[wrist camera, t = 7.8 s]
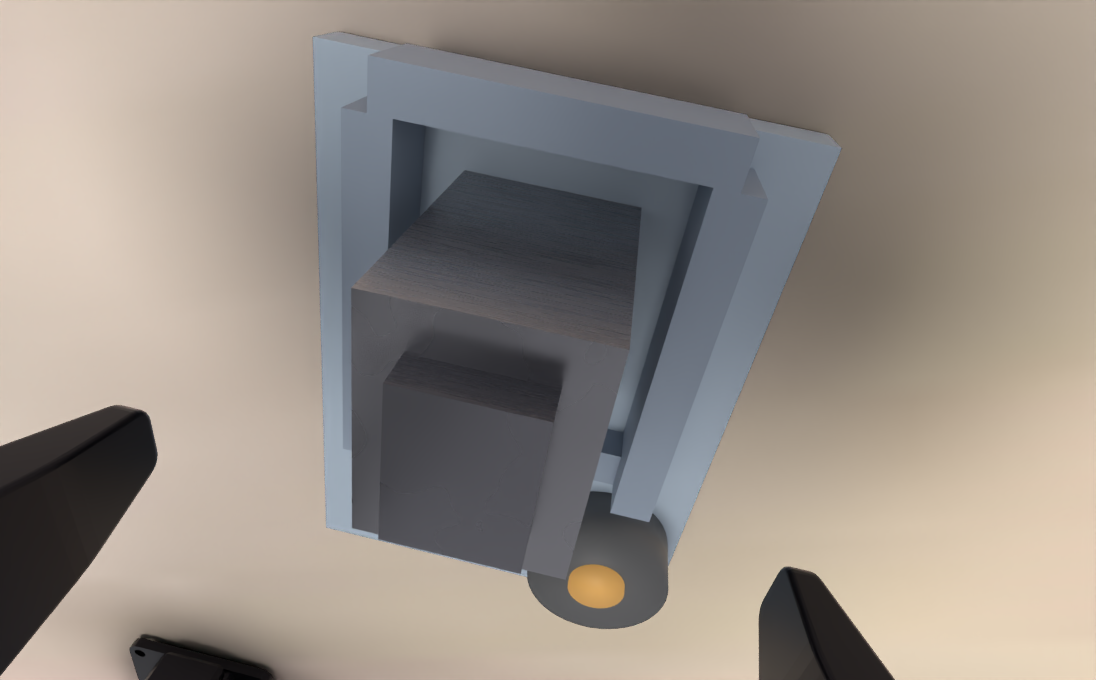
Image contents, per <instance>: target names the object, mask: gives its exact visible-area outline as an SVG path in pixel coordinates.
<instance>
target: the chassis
mask: <svg viewBox="0 0 1096 680" xmlns="http://www.w3.org/2000/svg"><path fill="white" fill-rule="evenodd" d="M313 59H314V96H315V133H316V169H317V206H318V243H319V279H320V316H321V352H322V389H323V426H324V462H325V499H326V528H330V529H334V530H339V531H343V532H347V533H351V534H355V535H359V536H363V537H367V538H371V539H375V540H379V539H378V534H374V533H370V532H366V531H362V530H358V529H353V528H352V403H351V287H352V286H353V285H354V284H355V283H356V282H357V281H358V280H359V279H360V278H361V277H362V276H363V275H364V274H365V273H366V272H367V271H368V270H369V269H370V268H371V267H372V266H373V265H374V264H375V262H376V261H377V260H378V259H379V258H380V257H381V256H382V255H383V254H384V253H385V252H386V251H387V250H388V249H389V248H390V247H391V246H392V245H393V244H394V243H395V242H396V241H397V240H398V239H399V238H400V237H401V236H402V234H403V233H404V232H405V231H406V230H407V229H408V228H409V227H410V226H411V225H412V224H413V223H414V222H415V221H416V220H417V219H418V218H419V217H420V216H421V215H422V214H423V213H424V212H425V211H426V210H427V209H428V208H429V206H430V205H431V204H432V203H433V202H434V201H435V200H436V199H437V198H438V197H439V196H440V195H441V194H442V193H443V192H444V191H445V190H446V189H447V188H448V187H449V186H450V185H451V184H452V183H453V182H454V181H455V179H456V178H457V177H458V176H459V175H460V174H461V173H462V172H463V171H464V170H467V171H472V172H476V173H481V174H486V175H490V176H495V177H500V178H504V179H509V180H514V181H519V182H523V183H528V184H533V185H537V186H542V187H547V188H551V189H556V190H561V191H566V192H570V193H575V194H580V195H584V196H589V197H594V198H598V199H603V200H608V201H613V202H617V203H622V204H627V205H631V206H636V207H641V208H642V210H641V221H640V233H639V245H638V257H637V269H636V281H635V292H634V304H633V316H632V328H631V340H630V350H629V354H628V358H627V361H626V365H625V368H624V372H623V376H622V379H621V383H620V386H619V390H618V394H617V397H616V401H615V404H614V408H613V411H612V415H611V419H610V422H609V426H608V429H607V433H606V437H605V440H604V444H603V447H602V451H601V455H600V458H599V462H598V465H597V469H596V473H595V476H594V480H593V483H592V487H591V490H590V494H589V498H588V501H587V505H586V508H585V512H584V516H583V519H582V523H581V526H580V530H579V534H578V537H577V541H576V544H575V548H574V551H573V555H572V559H571V562H570V566H569V569H568V573H567V577H566V580H564V579H560V578H556V577H552V576H548V575H543V574H539V573H535V572H531V571H527V570H523V569H522V571H521V574H519V573H515V572H511V571H507V570H503V569H498V568H494V567H490V566H486V565H482V564H478V563H474V562H470V561H465V560H461V559H457V558H453V557H449V556H445V555H441V554H437V553H432V552H428V551H424V550H420V549H416V548H412V547H408V546H404V545H399V544H395V543H391V542H387V541H383V540H379V541H383V542H387V543H391V544H395V545H399V546H404V547H408V548H412V549H416V550H420V551H424V552H428V553H432V554H436V555H440V556H444V557H448V558H452V559H456V560H460V561H464V562H469V563H473V564H477V565H481V566H485V567H489V568H493V569H497V570H501V571H505V572H509V573H513V574H517V575H521V576H525V577H527V579H528V583H529V586H530V589H531V591H532V593H533V594H534V596H535V597H536V598H537V600H538V601H539V602H540V603H541V604H542V605H543V606H544V607H545V608H547V609H548V610H549V611H551V612H552V613H554V614H555V615H557V616H559V617H561V618H563V619H565V620H567V621H570V622H572V623H575V624H578V625H582V626H586V627H591V628H599V629H618V628H625V627H629V626H634V625H636V624H639V623H642V622H644V621H646V620H648V619H649V618H651V617H652V616H654V615H655V614H656V613H657V612H658V611H659V610H660V609H661V608H662V606H663V605H664V603H665V601H666V598H667V595H668V565H669V563H670V561H671V558H672V556H673V553H674V551H675V548H676V546H677V544H678V541H679V539H680V536H681V534H682V532H683V529H684V527H685V524H686V522H687V520H688V517H689V515H690V512H691V510H692V508H693V505H694V503H695V500H696V498H697V496H698V493H699V491H700V488H701V486H702V483H703V481H704V479H705V476H706V474H707V471H708V469H709V467H710V464H711V462H712V459H713V457H714V455H715V452H716V450H717V447H718V445H719V443H720V440H721V438H722V435H723V433H724V431H725V428H726V426H727V423H728V421H729V418H730V416H731V414H732V411H733V409H734V406H735V404H736V402H737V399H738V397H739V394H740V392H741V390H742V387H743V385H744V382H745V380H746V378H747V375H748V373H749V370H750V368H751V366H752V363H753V361H754V358H755V356H756V353H757V351H758V349H759V346H760V344H761V341H762V339H763V337H764V334H765V332H766V329H767V327H768V325H769V322H770V320H771V317H772V315H773V313H774V310H775V308H776V305H777V303H778V301H779V298H780V296H781V293H782V291H783V288H784V286H785V284H786V281H787V279H788V276H789V274H790V272H791V269H792V267H793V264H794V262H795V260H796V257H797V255H798V252H799V250H800V248H801V245H802V243H803V240H804V238H805V236H806V233H807V231H808V228H809V226H810V223H811V221H812V219H813V216H814V214H815V211H816V209H817V207H818V204H819V202H820V199H821V197H822V195H823V192H824V190H825V187H826V185H827V183H828V180H829V178H830V175H831V173H832V171H833V168H834V166H835V163H836V161H837V158H838V156H839V154H840V151H841V149H842V148H841V147H840V146H839V145H838V144H837V143H836V142H835V141H834V140H833V139H832V138H831V137H830V136H829V135H828V134H824V133H819V132H814V131H810V130H805V129H800V128H795V127H791V126H786V125H781V124H776V123H772V122H767V121H762V120H757V119H752V118H748V116H747V114H742V113H737V112H732V111H728V110H723V109H718V108H713V107H708V106H704V105H699V104H694V103H689V102H685V101H680V100H675V99H670V98H666V97H661V96H656V95H651V94H647V93H642V92H637V91H632V90H627V89H623V88H618V87H613V86H608V85H604V84H599V83H594V82H589V81H585V80H580V79H575V78H570V77H565V76H561V75H556V74H551V73H546V72H542V71H537V70H532V69H527V68H523V67H518V66H513V65H508V64H504V63H499V62H494V61H489V60H484V59H480V58H475V57H470V56H465V55H461V54H456V53H451V52H446V51H442V50H437V49H432V48H427V47H422V46H418V45H413V44H408V43H406V44H402V45H400V44H395V43H391V42H386V41H381V40H376V39H371V38H367V37H362V36H357V35H352V34H348V33H343V32H333V33H329V34H324V35H319V36H314V37H313Z"/></svg>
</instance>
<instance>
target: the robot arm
mask: <svg viewBox="0 0 1096 680" xmlns="http://www.w3.org/2000/svg"><path fill="white" fill-rule="evenodd" d="M157 456H158V453H157V448H156V443H155V439H154V434H153V429H152V425H151V420H150V417H149V416H148V414H147V413H146V412H144V411H142V410H139V409H135V408H131V407H126V406H122V405H114V406H110V407H107V408H104V409H101V410H99V411H96V412H93V413H90V414H88V415H85V416H82V417H79V418H77V419H74V420H71V421H68V422H66V423H63V424H60V425H57V426H55V427H52V428H49V429H46V430H44V431H41V432H38V433H35V434H32V435H30V436H27V437H24V438H21V439H19V440H16V441H13V442H10V443H8V444H5V445H2V446H0V676H1V675H2V673H3V672H4V671H5V670H6V668H7V667H8V666H9V665H10V663H11V662H12V661H13V660H14V659H15V657H16V656H17V655H18V654H19V652H20V651H21V650H22V649H23V647H24V646H25V645H26V644H27V642H28V641H29V640H30V639H31V638H32V636H33V635H34V634H35V633H36V631H37V630H38V629H39V628H40V626H41V625H42V624H43V623H44V622H45V620H46V619H47V618H48V617H49V615H50V614H51V613H52V612H53V610H54V609H55V608H56V607H57V606H58V604H59V603H60V602H61V601H62V599H63V598H64V597H65V596H66V594H67V593H68V592H69V591H70V590H71V588H72V587H73V586H74V585H75V583H76V582H77V581H78V580H79V578H80V577H81V576H82V574H83V573H84V572H85V571H86V569H87V568H88V567H89V565H90V564H91V563H92V561H93V560H94V558H95V557H96V556H97V554H98V553H99V551H100V550H101V548H102V547H103V545H104V544H105V542H106V541H107V539H108V538H109V536H110V535H111V533H112V532H113V530H114V529H115V527H116V526H117V524H118V523H119V521H120V520H121V518H122V517H123V515H124V514H125V512H126V511H127V509H128V508H129V506H130V505H131V503H132V502H133V500H134V499H135V497H136V496H137V494H138V493H139V491H140V490H141V488H142V487H143V485H144V484H145V482H146V481H147V479H148V478H149V476H150V475H151V473H152V471H153V470H154V467H155V465H156V462H157ZM130 653H131V657H132V660H133V663H134V666H135V669H136V672H137V675H138V678H139V680H272V676H271V674H270V673H269V672H267V671H265V670H263V669H260V668H256V667H252V666H249V665H245V664H241V663H237V662H233V661H229V660H225V659H221V658H218V657H214V656H210V655H206V654H202V653H198V652H194V651H190V650H187V649H183V648H179V647H175V646H171V645H167V644H163V643H159V642H155V641H152V640H148V639H143V638H138V639H137V640H136V641H135V642H134V643H133V645H132V646H131V647H130ZM759 680H895V679H894V678H893V676H892V675H891V674H890V672H889V671H888V670H887V668H886V667H885V666H884V664H883V663H882V661H881V660H880V659H879V657H878V656H877V655H876V653H875V652H874V651H873V649H872V648H871V647H870V645H869V644H868V643H867V641H866V640H865V638H864V637H863V636H862V634H861V633H860V632H859V630H858V629H857V628H856V626H855V625H854V624H853V622H852V621H851V620H850V618H849V617H848V615H847V614H846V613H845V611H844V610H843V609H842V607H841V606H840V605H839V603H838V602H837V601H836V599H835V598H834V596H833V595H832V594H831V592H830V591H829V590H828V588H827V587H826V586H825V584H824V583H823V582H822V580H821V579H820V578H819V577H818V576H817V575H816V574H815V573H813V572H810V571H806V570H802V569H798V568H793V567H784V568H782V569H781V570H780V572H779V573H778V575H777V577H776V579H775V580H774V582H773V584H772V586H771V587H770V589H769V591H768V593H767V594H766V596H765V598H764V600H763V602H762V604H761V608H760V612H759Z"/></svg>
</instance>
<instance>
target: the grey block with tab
mask: <svg viewBox="0 0 1096 680" xmlns="http://www.w3.org/2000/svg"><path fill="white" fill-rule="evenodd" d="M641 210H642V208H641V207H636V206H631V205H627V204H622V203H617V202H613V201H608V200H603V199H598V198H594V197H589V196H584V195H580V194H575V193H570V192H566V191H561V190H556V189H551V188H547V187H542V186H537V185H533V184H528V183H523V182H519V181H514V180H509V179H504V178H500V177H495V176H490V175H486V174H481V173H476V172H472V171H467V170H464V171H463V172H462V173H461V174H460V175H459V176H458V177H457V178H456V179H455V181H454V182H453V183H452V184H451V185H450V186H449V187H448V188H447V189H446V190H445V191H444V192H443V193H442V194H441V195H440V196H439V197H438V198H437V199H436V200H435V201H434V202H433V203H432V204H431V205H430V206H429V208H428V209H427V210H426V211H425V212H424V213H423V214H422V215H421V216H420V217H419V218H418V219H417V220H416V221H415V222H414V223H413V224H412V225H411V226H410V227H409V228H408V229H407V230H406V231H405V232H404V233H403V234H402V236H401V237H400V238H399V239H398V240H397V241H396V242H395V243H394V244H393V245H392V246H391V247H390V248H389V249H388V250H387V251H386V252H385V253H384V254H383V255H382V256H381V257H380V258H379V259H378V260H377V261H376V262H375V264H374V265H373V266H372V267H371V268H370V269H369V270H368V271H367V272H366V273H365V274H364V275H363V276H362V277H361V278H360V279H359V280H358V281H357V282H356V283H355V284H354V285H353V286H352V287H351V403H352V528H353V529H358V530H362V531H366V532H370V533H374V534H378V539H379V540H383V541H387V542H391V543H395V544H399V545H404V546H408V547H412V548H416V549H420V550H424V551H428V552H432V553H437V554H441V555H445V556H449V557H453V558H457V559H461V560H465V561H470V562H474V563H478V564H482V565H486V566H490V567H494V568H498V569H503V570H507V571H511V572H515V573H519V574H521V571H522V569H523V570H527V571H531V572H535V573H539V574H543V575H548V576H552V577H556V578H560V579H564V580H566V577H567V573H568V569H569V566H570V562H571V559H572V555H573V551H574V548H575V544H576V541H577V537H578V534H579V530H580V526H581V523H582V519H583V516H584V512H585V508H586V505H587V501H588V498H589V494H590V490H591V487H592V483H593V480H594V476H595V473H596V469H597V465H598V462H599V458H600V455H601V451H602V447H603V444H604V440H605V437H606V433H607V429H608V426H609V422H610V419H611V415H612V411H613V408H614V404H615V401H616V397H617V394H618V390H619V386H620V383H621V379H622V376H623V372H624V368H625V365H626V361H627V358H628V354H629V350H630V340H631V328H632V316H633V304H634V292H635V281H636V269H637V257H638V245H639V233H640V221H641Z"/></svg>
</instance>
